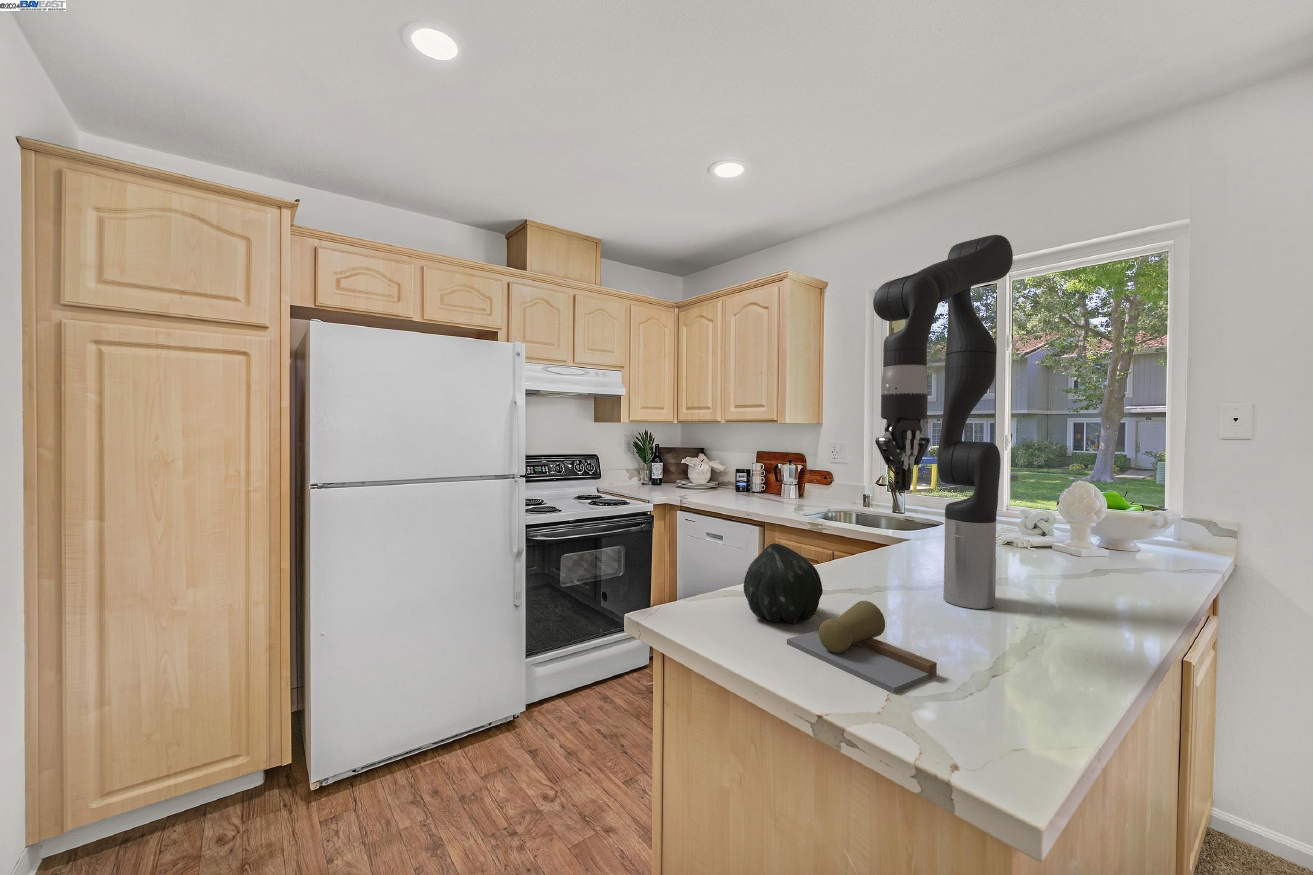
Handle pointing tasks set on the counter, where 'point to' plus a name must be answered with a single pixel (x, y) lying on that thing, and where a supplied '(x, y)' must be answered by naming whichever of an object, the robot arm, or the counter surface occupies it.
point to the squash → (782, 585)
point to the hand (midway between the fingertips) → (902, 490)
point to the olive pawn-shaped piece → (852, 627)
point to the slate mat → (862, 663)
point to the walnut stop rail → (900, 656)
